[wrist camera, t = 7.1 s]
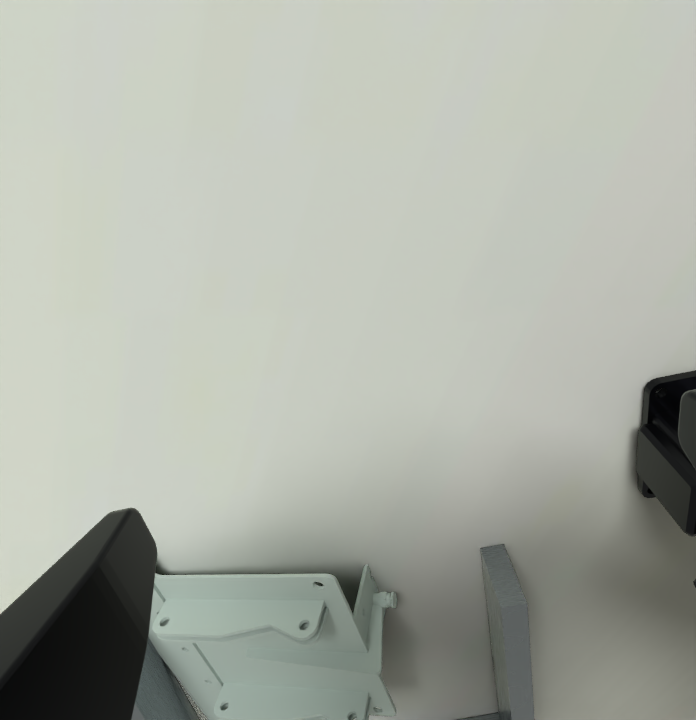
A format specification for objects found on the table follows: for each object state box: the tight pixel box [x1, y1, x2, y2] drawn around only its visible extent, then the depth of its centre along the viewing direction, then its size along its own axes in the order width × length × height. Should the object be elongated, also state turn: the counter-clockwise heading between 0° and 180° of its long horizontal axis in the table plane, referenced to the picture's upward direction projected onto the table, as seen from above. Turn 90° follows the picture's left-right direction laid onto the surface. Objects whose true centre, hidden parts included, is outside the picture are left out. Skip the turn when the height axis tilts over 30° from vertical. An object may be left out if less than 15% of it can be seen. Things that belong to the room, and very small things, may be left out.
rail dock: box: [131, 544, 534, 720], centre depth 31 cm, size 20×16×4 cm
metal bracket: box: [148, 565, 397, 720], centre depth 29 cm, size 14×6×15 cm
